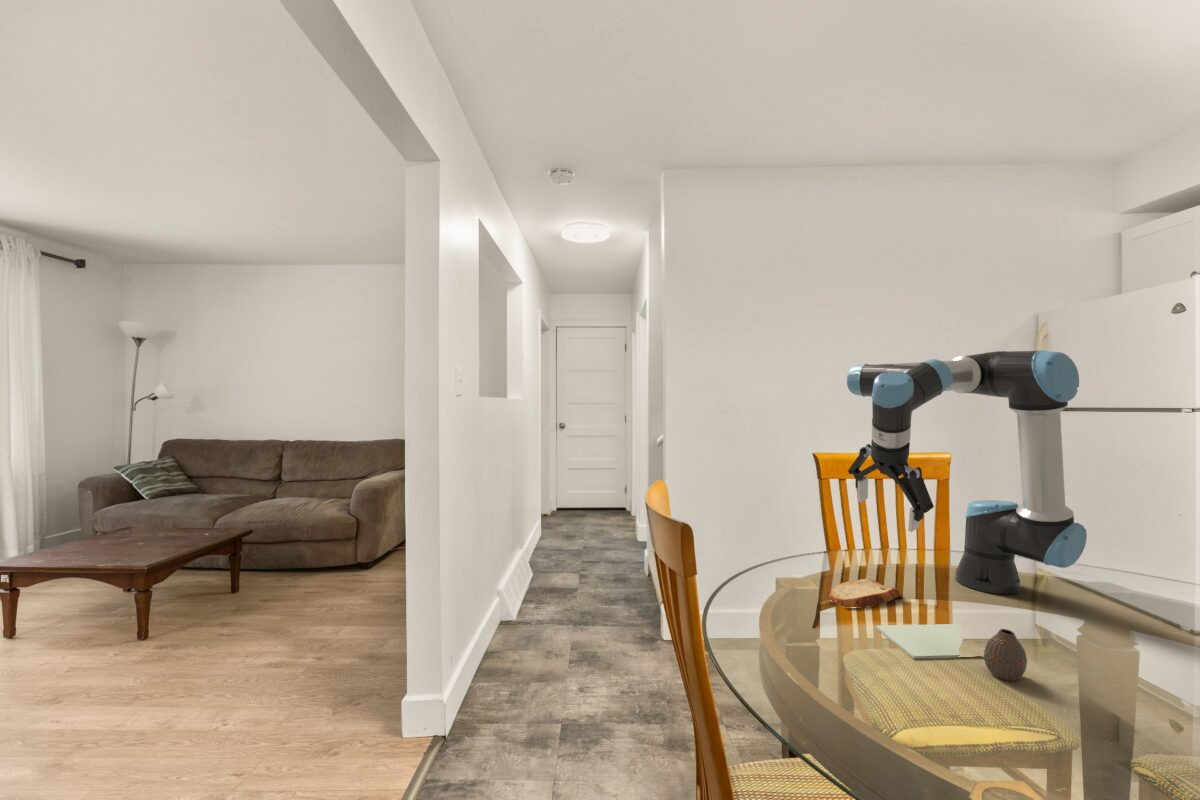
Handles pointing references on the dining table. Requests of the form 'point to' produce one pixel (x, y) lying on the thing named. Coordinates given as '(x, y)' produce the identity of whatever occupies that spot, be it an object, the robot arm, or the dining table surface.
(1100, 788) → the dining table surface
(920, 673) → the dining table surface
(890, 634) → the mat
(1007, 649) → the vase
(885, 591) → the slice of bread
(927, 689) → the dining table surface
